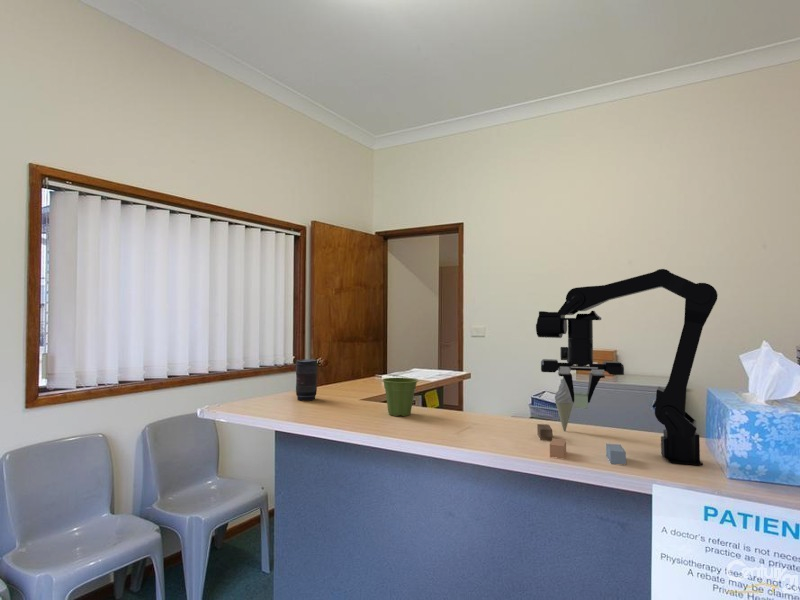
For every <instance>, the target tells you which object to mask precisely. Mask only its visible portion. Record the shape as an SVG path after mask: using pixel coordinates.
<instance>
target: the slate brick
mask: <svg viewBox="0 0 800 600" xmlns="http://www.w3.org/2000/svg"><path fill="white" fill-rule="evenodd" d="M605 452H606V455H605V456H606V458H607V459H609V460H608V462H609V461H610V462H609V464H610V463H611V464H610V465H616V464H626V465H627V452H626V450H625V449H624V448H623V446H622V445H621V444H619V443H618V444H616V443H606V444H605Z"/></svg>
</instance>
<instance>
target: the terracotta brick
mask: <svg viewBox="0 0 800 600" xmlns="http://www.w3.org/2000/svg"><path fill="white" fill-rule="evenodd" d="M566 454H567V440H566V439H562V438H553V439H552V441H550V443H549V458H552V457H557V458H556V459H560V458H564V459H565V456H566Z"/></svg>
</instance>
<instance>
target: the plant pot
mask: <svg viewBox="0 0 800 600" xmlns="http://www.w3.org/2000/svg"><path fill="white" fill-rule="evenodd" d="M381 381H382V382H383V387H384V389H385V390H384V391H385V398H386V405H387V413H388V415H389V416H394V417H399V416H403V417H407V416H410V415H411V413H412V408H413V401H414V397H415V396H414V395H415V390H416V388H417V387H416V386H417V383H418V382H419V379H416V378H411V377H386V378H382V379H381Z"/></svg>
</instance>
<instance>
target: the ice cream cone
mask: <svg viewBox="0 0 800 600" xmlns="http://www.w3.org/2000/svg"><path fill="white" fill-rule="evenodd" d="M554 402H555V405H556V409H557V413H558V415H559V420H560V423H561V427H562V430H563V432H566V430H567V427H568V423H569V420H570V417H571V413H572V409H573V407H574V406H573V405H574V402H573V401H572V398H571V395H570V392H569V389H568V386H567V384H566V381H565V379H564V377H563V376H562V380H561V382H560V384H559V386H558V390H557V391H556V392H555V393H554Z"/></svg>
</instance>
